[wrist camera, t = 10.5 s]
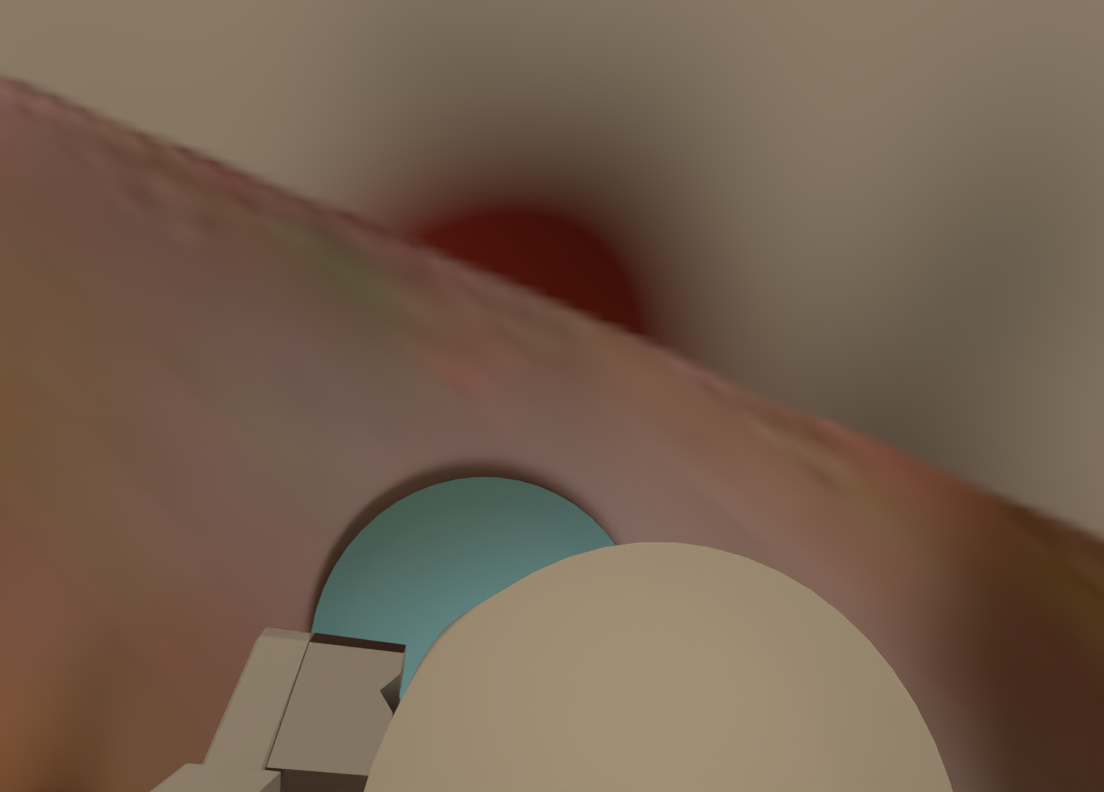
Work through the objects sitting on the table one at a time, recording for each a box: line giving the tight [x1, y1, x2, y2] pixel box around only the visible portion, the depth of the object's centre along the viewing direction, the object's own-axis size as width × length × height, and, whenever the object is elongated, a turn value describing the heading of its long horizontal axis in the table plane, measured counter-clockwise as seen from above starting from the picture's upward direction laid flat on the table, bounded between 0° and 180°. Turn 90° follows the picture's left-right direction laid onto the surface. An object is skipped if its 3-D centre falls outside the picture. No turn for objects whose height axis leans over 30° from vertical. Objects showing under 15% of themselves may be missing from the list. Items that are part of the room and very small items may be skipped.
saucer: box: [311, 477, 616, 701], centre depth 27 cm, size 12×12×1 cm
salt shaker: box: [364, 542, 953, 792], centre depth 9 cm, size 4×4×9 cm
